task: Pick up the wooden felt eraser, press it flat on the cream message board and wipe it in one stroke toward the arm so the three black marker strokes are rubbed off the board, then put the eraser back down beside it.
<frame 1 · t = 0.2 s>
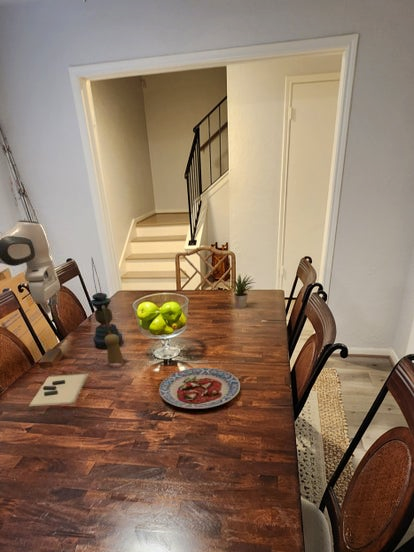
hand: (51, 308, 139), 19 cm above the table, tool pointing down, fingers open, 8 cm apart
board: (61, 391, 123), on the table
eraser: (52, 363, 143), on the table
ceramic plate: (200, 392, 119), on the table
cork: (116, 363, 141), on the table
mark a: (51, 394, 120), point 1 cm above the table, touching board
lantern: (109, 344, 157), on the table
mark b: (50, 389, 123), point 1 cm above the table, touching board
mark c: (59, 383, 126), point 1 cm above the table, touching board
house plant: (240, 307, 191), on the table
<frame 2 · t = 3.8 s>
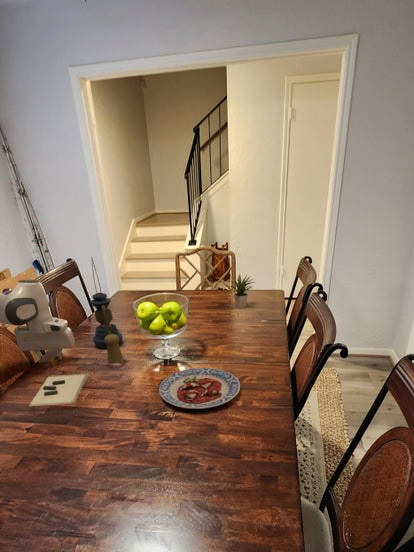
hand: (51, 359, 142), 2 cm above the table, tool pointing down, fingers closed on eraser, 5 cm apart
eraser: (52, 363, 143), on the table, touching gripper
everything else where it was.
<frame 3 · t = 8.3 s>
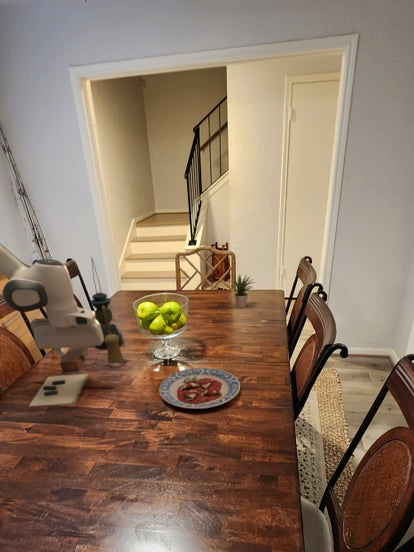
hand: (74, 359, 117), 12 cm above the table, tool pointing down, fingers closed on eraser, 5 cm apart
eraser: (75, 363, 118), point 10 cm above the table, touching gripper
everything else where it was.
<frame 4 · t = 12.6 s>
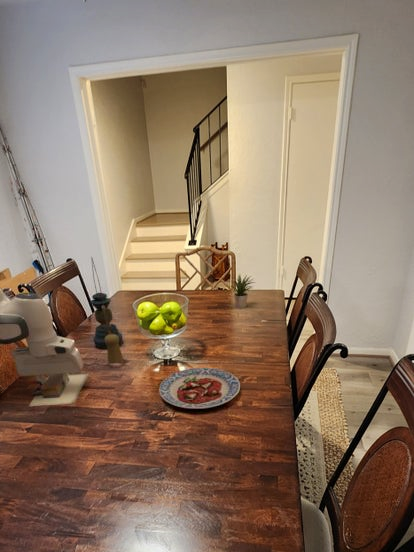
hand: (56, 384, 122), 3 cm above the table, tool pointing down, fingers closed on eraser, 5 cm apart
eraser: (57, 388, 123), point 1 cm above the table, touching board, gripper, mark b, mark c
mark a: (39, 394, 120), point 1 cm above the table
mark b: (43, 389, 122), point 1 cm above the table, touching eraser
mark c: (46, 384, 126), point 1 cm above the table, touching eraser
everything else where it was.
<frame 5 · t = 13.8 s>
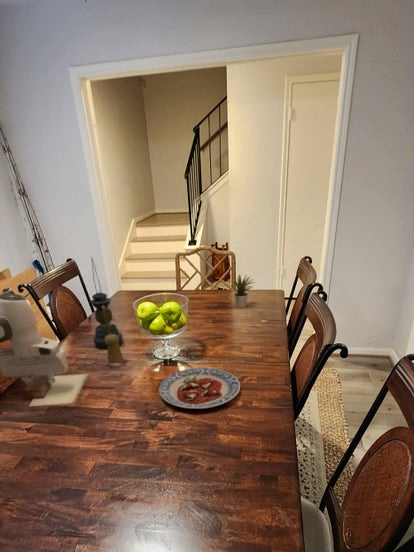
hand: (41, 385, 122), 3 cm above the table, tool pointing down, fingers closed on eraser, 5 cm apart
eraser: (42, 389, 123), point 1 cm above the table, touching gripper
mark a: (29, 398, 120), on the table
mark b: (33, 394, 123), on the table
mark c: (37, 388, 126), on the table
everything else where it was.
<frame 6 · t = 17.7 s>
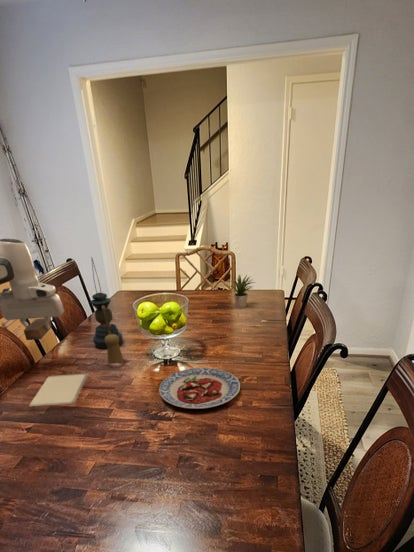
hand: (38, 329, 132), 15 cm above the table, tool pointing down, fingers closed on eraser, 5 cm apart
eraser: (39, 333, 132), point 14 cm above the table, touching gripper
everything else where it was.
when the fingers open (1 cm above the table, at t = 21.4 s): eraser stays where it is, on the table.
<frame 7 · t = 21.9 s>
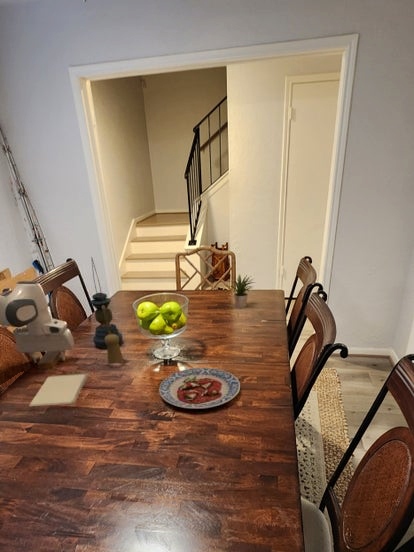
hand: (50, 361, 141), 1 cm above the table, tool pointing down, fingers open, 8 cm apart
eraser: (52, 364, 142), on the table
everything else where it was.
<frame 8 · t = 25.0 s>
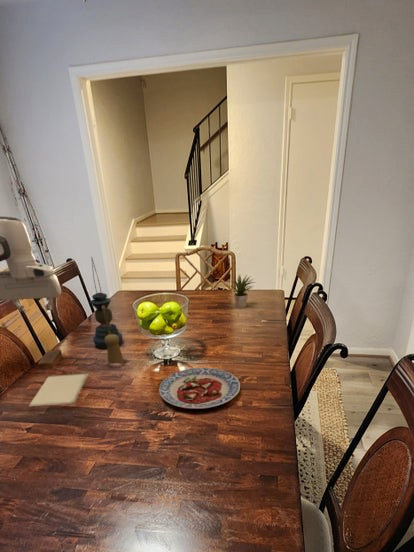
hand: (35, 310, 131), 21 cm above the table, tool pointing down, fingers open, 8 cm apart
nothing on the table moved.
at the end: mark a inside the target area (6.5 cm from its centre), on the table; mark b inside the target area (5.8 cm from its centre), on the table; mark c inside the target area (6.8 cm from its centre), on the table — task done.
